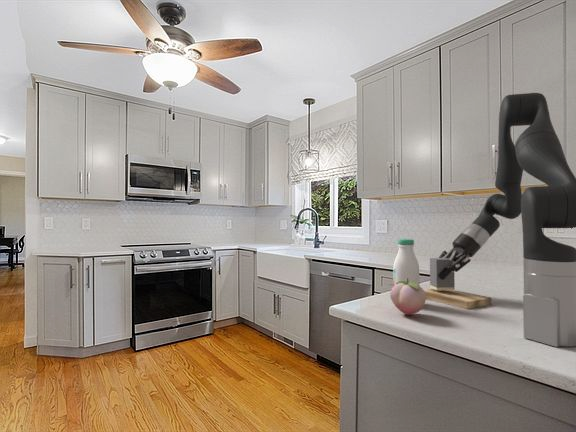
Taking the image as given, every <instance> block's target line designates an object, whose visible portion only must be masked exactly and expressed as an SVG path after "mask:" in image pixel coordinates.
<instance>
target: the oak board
mask: <svg viewBox="0 0 576 432" xmlns="http://www.w3.org/2000/svg"><path fill="white" fill-rule="evenodd" d="M423 290H424V292H425V294H426V300H429V299H430V301H434V302H437V301H438V302H439V303H441V304H446V305H451V306H454V307H457V308H462V309H465V310H468V309H474V308H479V307H484V306H489V305H492V297H490V296H486V295H485V296H484V295H480V294H476V293H471V292H466V291H461V290H456V289H455V290H435V289H433V288H430V289H423Z"/></svg>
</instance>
